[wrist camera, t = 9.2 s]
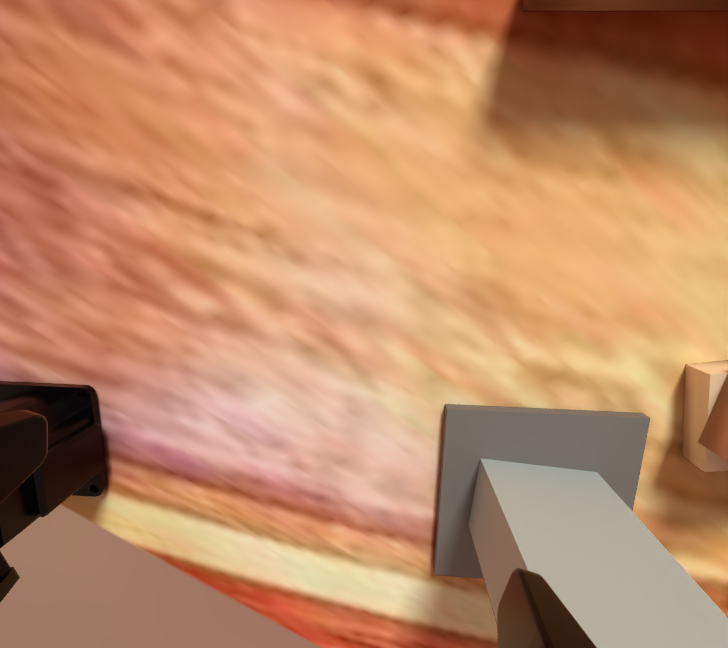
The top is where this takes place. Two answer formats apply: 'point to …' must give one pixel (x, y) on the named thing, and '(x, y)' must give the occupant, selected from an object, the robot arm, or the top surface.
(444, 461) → the mat
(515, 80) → the top surface
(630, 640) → the block
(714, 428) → the offcut cherry
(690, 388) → the offcut birch
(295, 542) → the top surface
